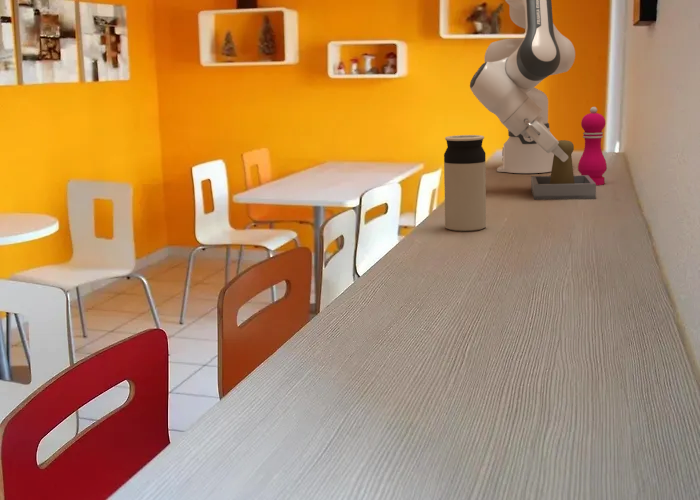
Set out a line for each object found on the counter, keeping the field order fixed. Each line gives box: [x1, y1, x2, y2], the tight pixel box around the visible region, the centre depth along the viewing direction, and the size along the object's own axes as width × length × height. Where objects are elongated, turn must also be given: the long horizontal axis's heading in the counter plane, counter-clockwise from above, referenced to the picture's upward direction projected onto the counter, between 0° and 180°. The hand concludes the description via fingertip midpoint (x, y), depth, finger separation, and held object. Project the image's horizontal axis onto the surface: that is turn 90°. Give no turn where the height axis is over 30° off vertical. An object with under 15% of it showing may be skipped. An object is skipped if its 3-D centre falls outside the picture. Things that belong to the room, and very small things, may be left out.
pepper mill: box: [577, 106, 608, 187], centre depth 211 cm, size 7×7×20 cm
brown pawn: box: [550, 139, 575, 184], centre depth 196 cm, size 6×6×11 cm
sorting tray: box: [530, 174, 597, 201], centre depth 198 cm, size 16×14×4 cm
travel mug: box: [443, 134, 487, 232], centre depth 159 cm, size 8×8×18 cm
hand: (565, 158), depth 196 cm, fingers closed on brown pawn, 5 cm apart
